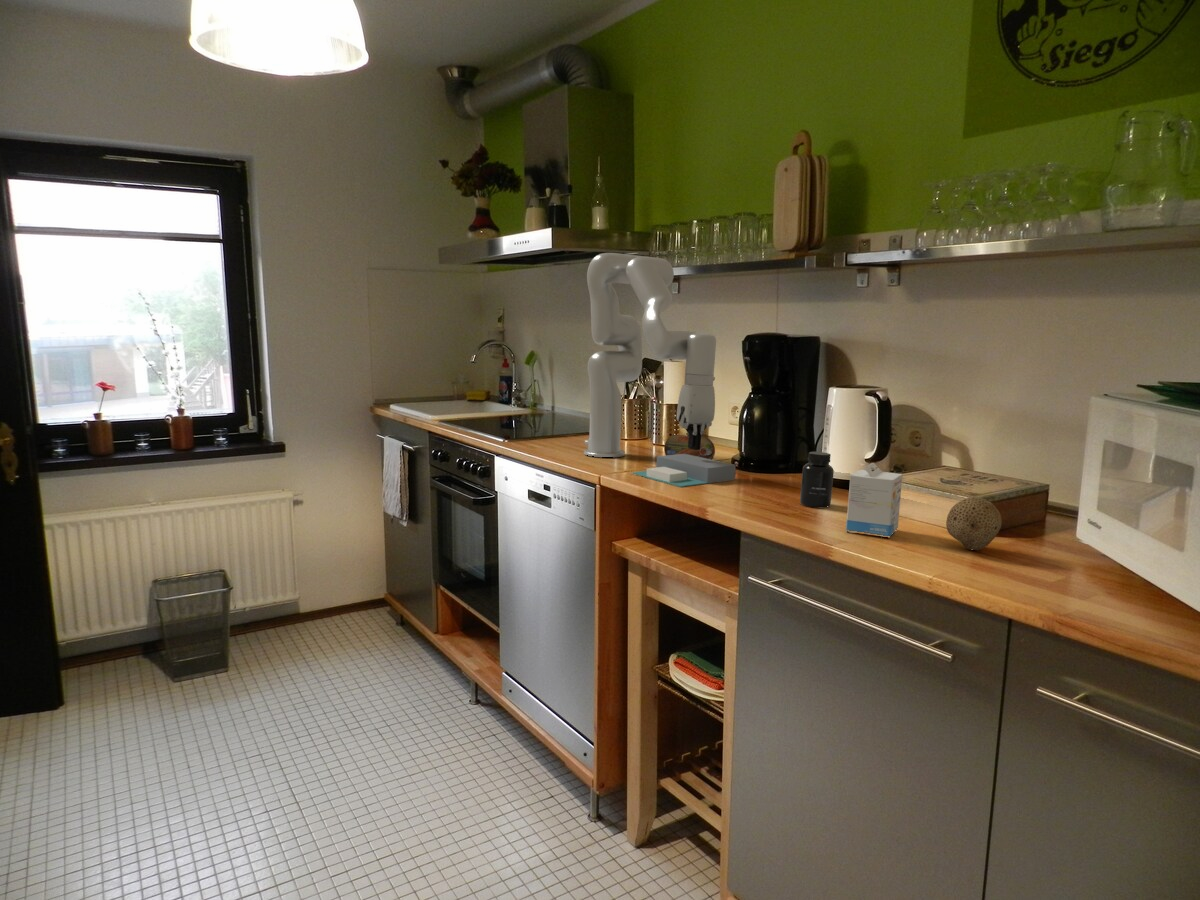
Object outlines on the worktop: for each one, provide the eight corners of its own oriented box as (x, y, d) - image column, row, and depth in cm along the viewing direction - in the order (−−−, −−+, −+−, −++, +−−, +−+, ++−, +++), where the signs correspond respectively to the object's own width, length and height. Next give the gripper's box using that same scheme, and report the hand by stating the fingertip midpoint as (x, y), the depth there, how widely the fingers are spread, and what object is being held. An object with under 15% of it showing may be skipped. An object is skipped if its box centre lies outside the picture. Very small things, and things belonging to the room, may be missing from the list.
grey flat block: (656, 470, 213) (656, 456, 212) (683, 467, 219) (683, 453, 218) (707, 483, 197) (707, 468, 196) (734, 479, 203) (735, 464, 202)
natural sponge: (972, 559, 136) (978, 504, 135) (932, 546, 144) (937, 494, 143) (1008, 554, 140) (1014, 501, 138) (967, 541, 148) (973, 490, 146)
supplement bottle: (814, 509, 171) (818, 456, 170) (793, 503, 177) (797, 451, 175) (837, 506, 175) (841, 454, 173) (816, 500, 181) (819, 450, 179)
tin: (663, 461, 227) (664, 433, 226) (667, 460, 230) (668, 432, 229) (711, 467, 220) (713, 438, 219) (715, 465, 223) (717, 436, 222)
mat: (630, 473, 207) (630, 472, 207) (656, 470, 213) (656, 469, 213) (680, 487, 192) (680, 486, 192) (707, 483, 197) (707, 482, 197)
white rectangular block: (663, 466, 206) (663, 474, 207) (646, 468, 203) (646, 476, 203) (687, 472, 199) (686, 479, 200) (669, 474, 196) (669, 482, 196)
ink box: (889, 539, 148) (895, 471, 146) (844, 532, 153) (850, 466, 150) (898, 530, 155) (904, 464, 153) (855, 523, 160) (861, 460, 158)
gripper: (709, 378, 211) (704, 444, 215) (668, 379, 203) (663, 448, 206) (729, 381, 205) (723, 449, 209) (687, 382, 197) (682, 453, 200)
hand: (694, 448), depth 207 cm, fingers closed
